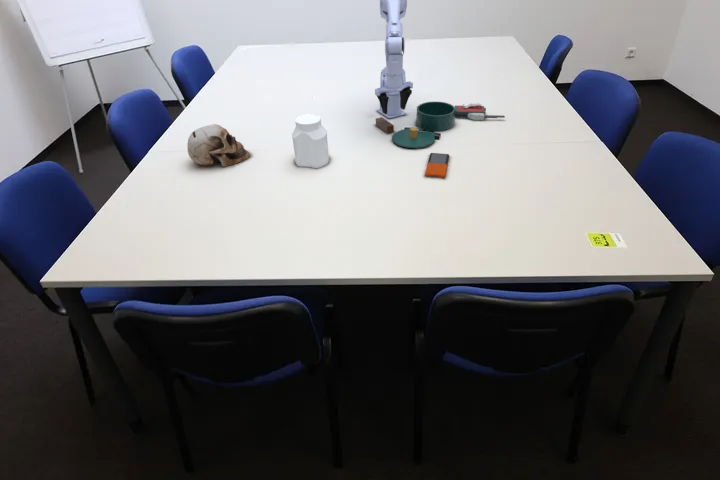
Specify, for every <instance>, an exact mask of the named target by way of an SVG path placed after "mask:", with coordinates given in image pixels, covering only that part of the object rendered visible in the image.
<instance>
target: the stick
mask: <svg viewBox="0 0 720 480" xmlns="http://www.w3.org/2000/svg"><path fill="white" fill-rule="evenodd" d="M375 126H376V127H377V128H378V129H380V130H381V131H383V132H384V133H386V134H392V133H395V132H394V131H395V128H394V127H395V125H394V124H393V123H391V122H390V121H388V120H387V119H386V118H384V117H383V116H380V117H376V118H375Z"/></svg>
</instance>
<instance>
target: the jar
mask: <svg viewBox="0 0 720 480" xmlns="http://www.w3.org/2000/svg"><path fill="white" fill-rule="evenodd" d="M294 121H295V127H294V129H293V131H292V132H291V138H292V143H293V144H292V145H293V152H294V162H295V164H296V166H297V167H300V168H301V167H303V168H304V167H305V168H307V167H308V168H313V169H319V168H322V167H325V166H326V165H327V164H328V163H329V162H330V155H329V144H328V131H327V129H326V128H325V127H324V126H323V124H322V118H321V116H320V115H318V114H316V113H315V114H313V113H305V114H301V115H299V116H297V117H296V118H295V120H294Z"/></svg>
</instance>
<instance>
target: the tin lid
mask: <svg viewBox="0 0 720 480" xmlns="http://www.w3.org/2000/svg"><path fill="white" fill-rule="evenodd" d="M417 129H419V130H424V129H421V128H417V127H410V128H404V129H400V130H398V131H396V132H393V134H392V136H391V140H392V143H393V144H394V145H395V144H396V145H397V146H399V147H403V148H408V149H421V148H425V147H428V146H431V145H432V144H433V143H434V142H435V140H436V137H435V135H434V133H433V132H432V131H427V130H426V132H422V133H421V132H420V133H417Z"/></svg>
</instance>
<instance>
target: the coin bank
mask: <svg viewBox="0 0 720 480" xmlns="http://www.w3.org/2000/svg"><path fill="white" fill-rule="evenodd" d="M236 139H237V138H236V136H234V135H232V134H230V132H229V130H227V129H226V128H224V127H222V126H221V125H219V124H217V123H213V124H209V125H204V126H201V127H199V128H196V129H195V130H194V131H192V132H191V134H189V136H188V139H187V147H186V148H187V154H188V156H189V158H190V159H191V161H193V162H195V163H196V164H198V165H200V166H205V167H210V166H214V165H217V164H220V165H221V167H224V168H225V167H227V166H233V165H236V164H239V163H243V162H245V161H246V160H247V159H248V158H251V153H250V152H249V150H246V149H245V147H244V144H242V142H240V141H238V140H236Z"/></svg>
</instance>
